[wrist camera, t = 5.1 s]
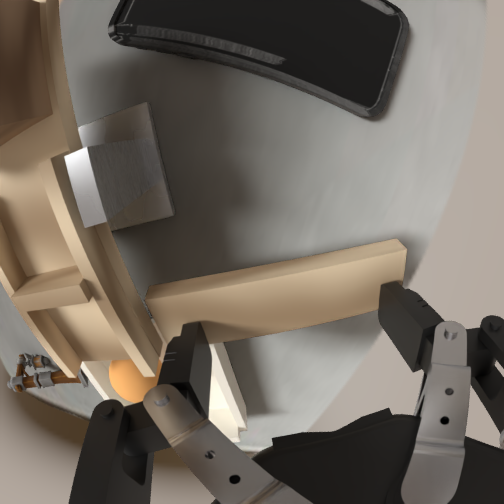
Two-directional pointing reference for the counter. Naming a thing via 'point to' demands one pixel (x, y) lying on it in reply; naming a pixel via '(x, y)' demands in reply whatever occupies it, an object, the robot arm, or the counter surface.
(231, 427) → the tray
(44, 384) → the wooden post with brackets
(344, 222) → the counter surface
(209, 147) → the counter surface
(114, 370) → the ball
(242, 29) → the phone
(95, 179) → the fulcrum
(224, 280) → the lever
